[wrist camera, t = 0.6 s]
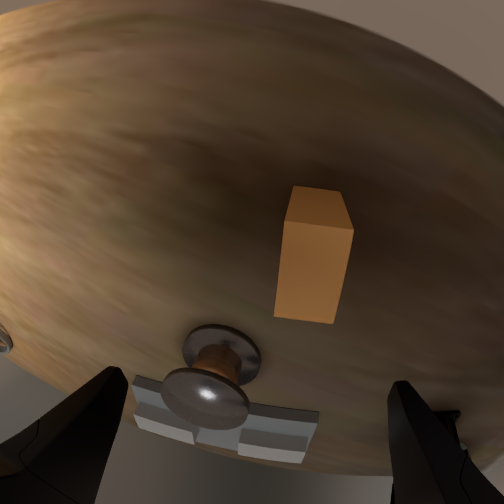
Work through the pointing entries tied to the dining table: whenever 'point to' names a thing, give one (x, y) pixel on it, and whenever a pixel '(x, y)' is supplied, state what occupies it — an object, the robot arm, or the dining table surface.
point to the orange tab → (313, 255)
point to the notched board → (240, 439)
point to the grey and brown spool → (213, 378)
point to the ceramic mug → (5, 338)
